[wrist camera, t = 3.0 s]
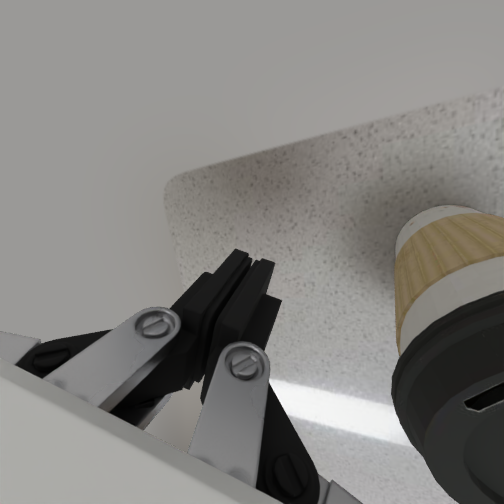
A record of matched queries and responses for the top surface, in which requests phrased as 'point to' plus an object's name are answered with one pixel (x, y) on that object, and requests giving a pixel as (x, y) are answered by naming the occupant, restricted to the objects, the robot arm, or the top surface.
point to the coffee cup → (452, 348)
